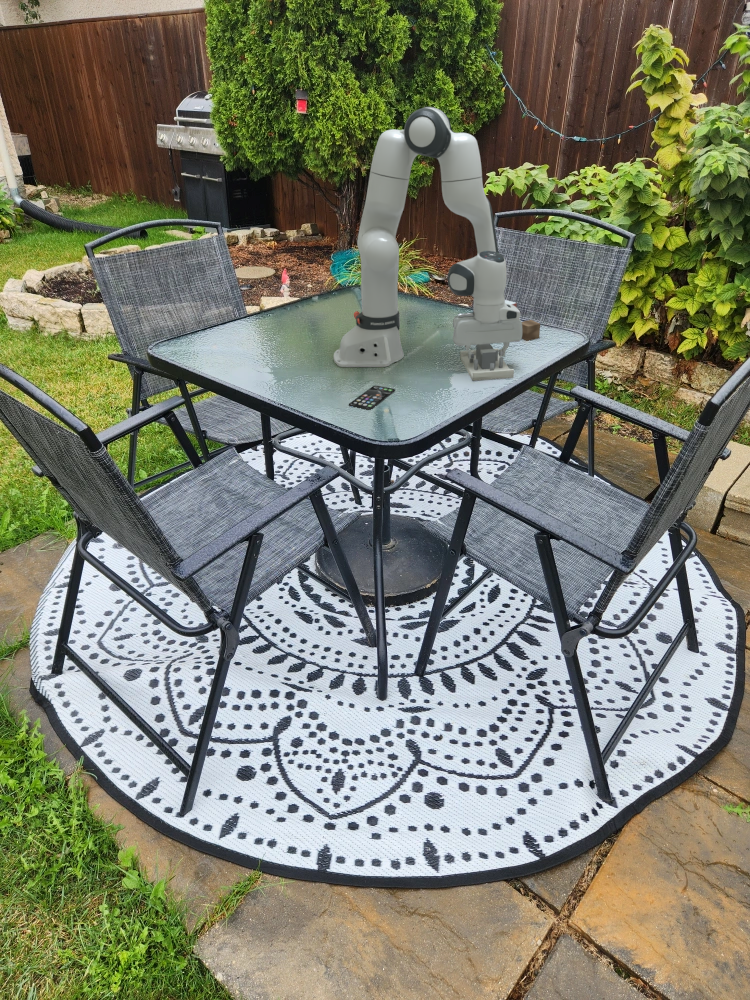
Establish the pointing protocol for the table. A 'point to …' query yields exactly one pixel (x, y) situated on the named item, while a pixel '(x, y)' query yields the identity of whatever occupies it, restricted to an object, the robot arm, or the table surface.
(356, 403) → the smartphone
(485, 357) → the block
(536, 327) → the walnut block
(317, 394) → the table surface
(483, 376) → the peg board
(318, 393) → the table surface
